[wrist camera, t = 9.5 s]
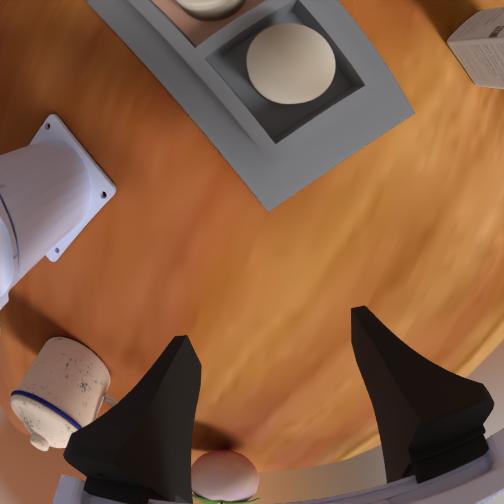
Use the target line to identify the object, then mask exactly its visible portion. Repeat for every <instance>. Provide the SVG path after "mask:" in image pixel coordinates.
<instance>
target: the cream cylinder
mask: <svg viewBox="0 0 504 504" xmlns="http://www.w3.org/2000/svg"><path fill="white" fill-rule="evenodd" d="M176 2H177V3H178V4H179V5H180V6H181V8H182V9H183V10H184V11H185V12H186V14H188V15H189V16H190V17H192V18H194V19H196V20H199V21H204V22H215V21H221V20H224V19H226V18H229V17H231V16H232V15H234V14H235V13H237V12H238V11H239V10H240V9H241V7H242V6H243V4H244V2H245V0H176Z"/></svg>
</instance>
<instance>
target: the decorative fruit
mask: <svg viewBox="0 0 504 504" xmlns="http://www.w3.org/2000/svg"><path fill="white" fill-rule="evenodd" d="M258 483H259V476H258V473H257V470H256V468H255V467H254V465H253V464H252V463H251V461H250V460H249V459H248V458H246V457H245V456H244V455H242V454H239V453H237V452H234V451H231V450H228V449H226V448H225V449H222V450H217V451H212V452H208V453H206V454H203V455H202V456H200V457H199V458H198V459H197V460H196V461H195V463H194V464H193V466H192V467H191V485H192V491H193V493H194V494H195V495H193V494H192V498H193V499H194V500H196V501H198V502H201V503H204V504H219V503H220V504H223V503H224V504H252V503H254V502H256V501H257V500H258V499H260V498H257V499H254V500H251V501H247V500H249V499H250V498H251V497H253V495H254V494H255V492H256V490H257V488H258ZM245 501H246V502H245Z"/></svg>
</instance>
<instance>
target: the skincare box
mask: <svg viewBox="0 0 504 504" xmlns="http://www.w3.org/2000/svg"><path fill="white" fill-rule="evenodd" d="M447 44H448V46H449V47H450V49H451V50H452V52H453V53H454V55H455V56H456V58H457V59H458V60H459V62H460V63H461V65H462V66H463V68H464V69H465V71H466V72H467V74H468V75H469V77H470V78H471V79H472V81H473V82H474V84H475V85H476V86H483V87H492V88H500V89H504V7H499V8H493V9H487V10H482V11H479V12H477V13H475V14H474V15H473V16H471V17H470V18H469V19H468V20H466V21H465V22H464V23H463V24H462V25H461V26H460V27H459V28H458V29H457V30H456V31H455V32H454V33H453V34H452V35H451V36H450V37H449V38H448V39H447Z"/></svg>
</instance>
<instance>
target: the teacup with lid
mask: <svg viewBox="0 0 504 504" xmlns="http://www.w3.org/2000/svg"><path fill="white" fill-rule="evenodd" d="M109 384H110V374H109V372H108V369H107V367H106V366H105V364H104V363H103V362H102V361H101V359H100V358H99V357H98V356H97V355H96V354H95V353H93V352H92V351H91V350H90V349H88V348H87V347H85V346H84V345H82V344H80V343H78V342H76V341H74V340H71V339H68V338H64V337H53V338H51V339H49V340H48V341H47V342H46V343H45V345H44V346H43V348H42V349H41V351H40V352H39V354H38V355H37V357H36V359H35V360H34V362H33V363H32V365H31V367H30V368H29V370H28V371H27V373H26V375H25V376H24V378H23V380H22V381H21V383H20V385H19V386H18V388H17V390H16V391H13V392H12V394H11V399H10V402H11V407H12V409H13V411H14V412H15V414H16V415H17V416H18V417H19V418H20V420H21V421H22V422H23V424H24V426H25V427H26V429H27V430H28V431H29V432H30V433H31V434H32V435H31V437H30V442H31V443H32V444H33V445H34V446H35V447H37V448H38V449H40V450H42V451H47V450H48V448H49V446H52V447H56V448H66V446H67V443H68V441H69V438H70V436H71V433H73V432H75V431H77V430H79V429H81V428H83V427H85V426H86V425H88V424H90V423H91V422H93V421H94V420H96V417H97V415H98V412H99V409H100V407H101V404H102V402H103V401H104V402H106V403H108V404H110V405H112V406H115V405H116V404H117V403H118V402H119V401H118V400H117V399H116V398H114V397H113V396H111V395H109V394H107V393H106V392H107V389H108V387H109Z"/></svg>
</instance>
